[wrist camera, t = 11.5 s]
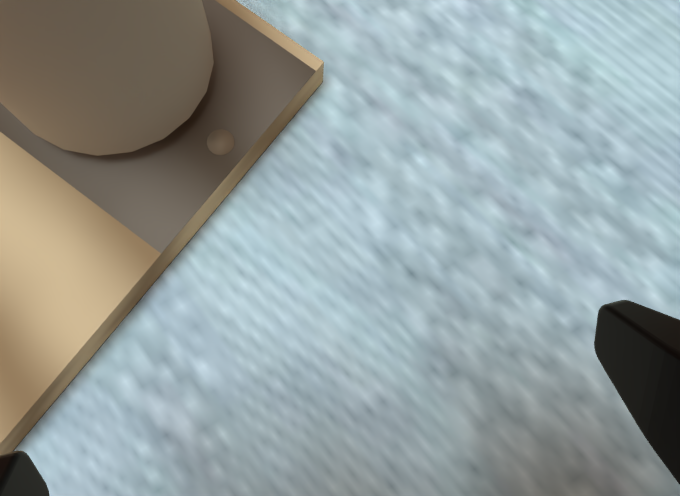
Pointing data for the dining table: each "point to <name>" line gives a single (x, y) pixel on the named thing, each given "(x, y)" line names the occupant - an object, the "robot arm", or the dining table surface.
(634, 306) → the robot arm
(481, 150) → the dining table surface
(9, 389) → the subfloor panel
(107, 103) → the can
